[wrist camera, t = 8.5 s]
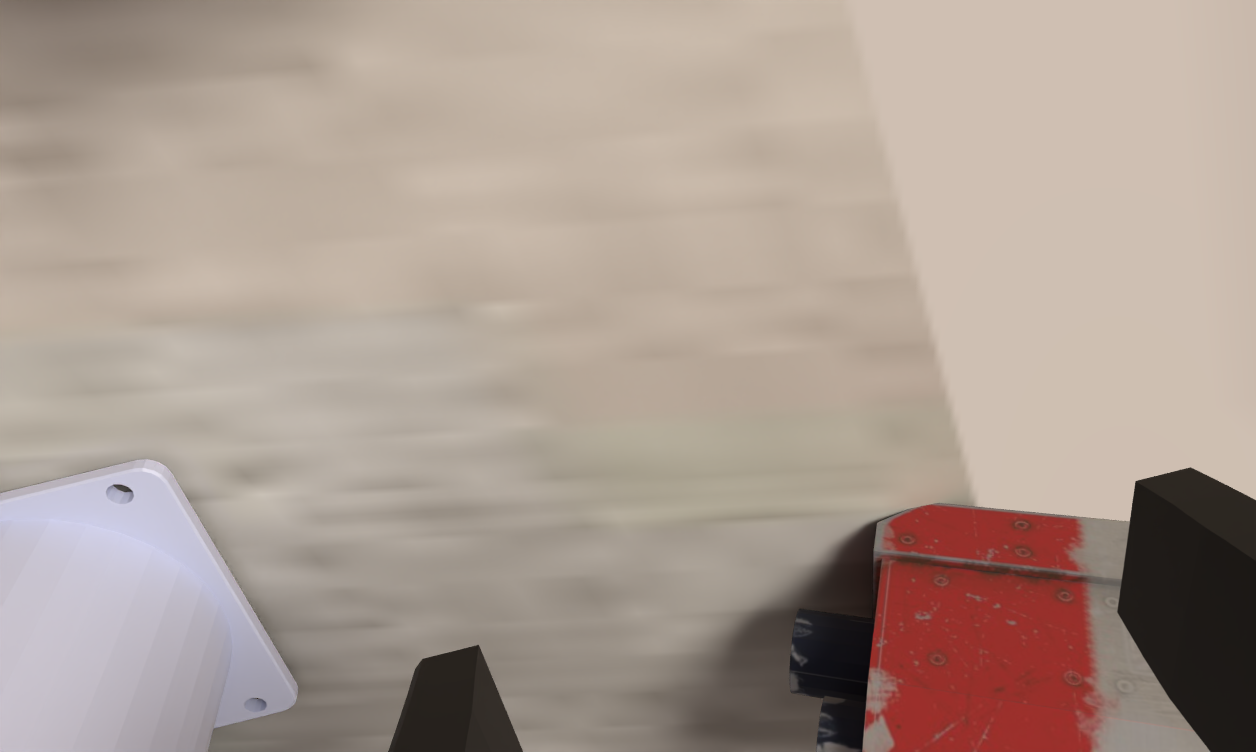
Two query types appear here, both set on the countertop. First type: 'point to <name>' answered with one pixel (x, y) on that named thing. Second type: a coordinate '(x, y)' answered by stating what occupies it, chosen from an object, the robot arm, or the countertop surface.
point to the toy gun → (987, 643)
